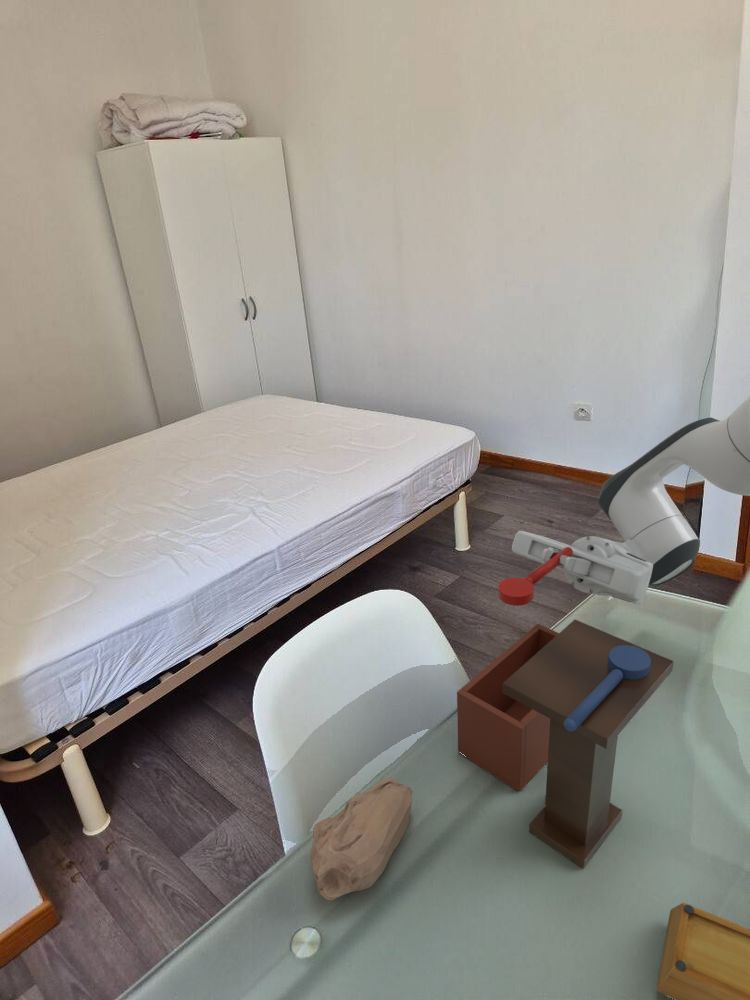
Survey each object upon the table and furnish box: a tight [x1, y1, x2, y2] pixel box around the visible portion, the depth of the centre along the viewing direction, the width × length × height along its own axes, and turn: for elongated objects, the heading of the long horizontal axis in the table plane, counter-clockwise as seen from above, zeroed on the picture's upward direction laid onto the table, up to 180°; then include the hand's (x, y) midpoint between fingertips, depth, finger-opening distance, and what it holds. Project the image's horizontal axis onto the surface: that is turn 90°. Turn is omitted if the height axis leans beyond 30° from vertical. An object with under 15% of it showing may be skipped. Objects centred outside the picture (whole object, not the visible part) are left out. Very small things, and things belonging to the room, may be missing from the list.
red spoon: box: [497, 547, 573, 607], centre depth 94 cm, size 16×5×1 cm, turn 135°
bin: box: [456, 623, 560, 793], centre depth 104 cm, size 21×11×12 cm, turn 135°
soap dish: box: [656, 902, 750, 1000], centre depth 72 cm, size 12×10×5 cm
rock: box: [309, 777, 413, 901], centre depth 88 cm, size 18×10×10 cm
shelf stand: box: [503, 619, 675, 870], centre depth 86 cm, size 16×13×26 cm
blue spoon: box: [564, 645, 651, 731], centre depth 77 cm, size 16×5×1 cm, turn 135°
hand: (555, 559), depth 96 cm, fingers closed on red spoon, 1 cm apart
